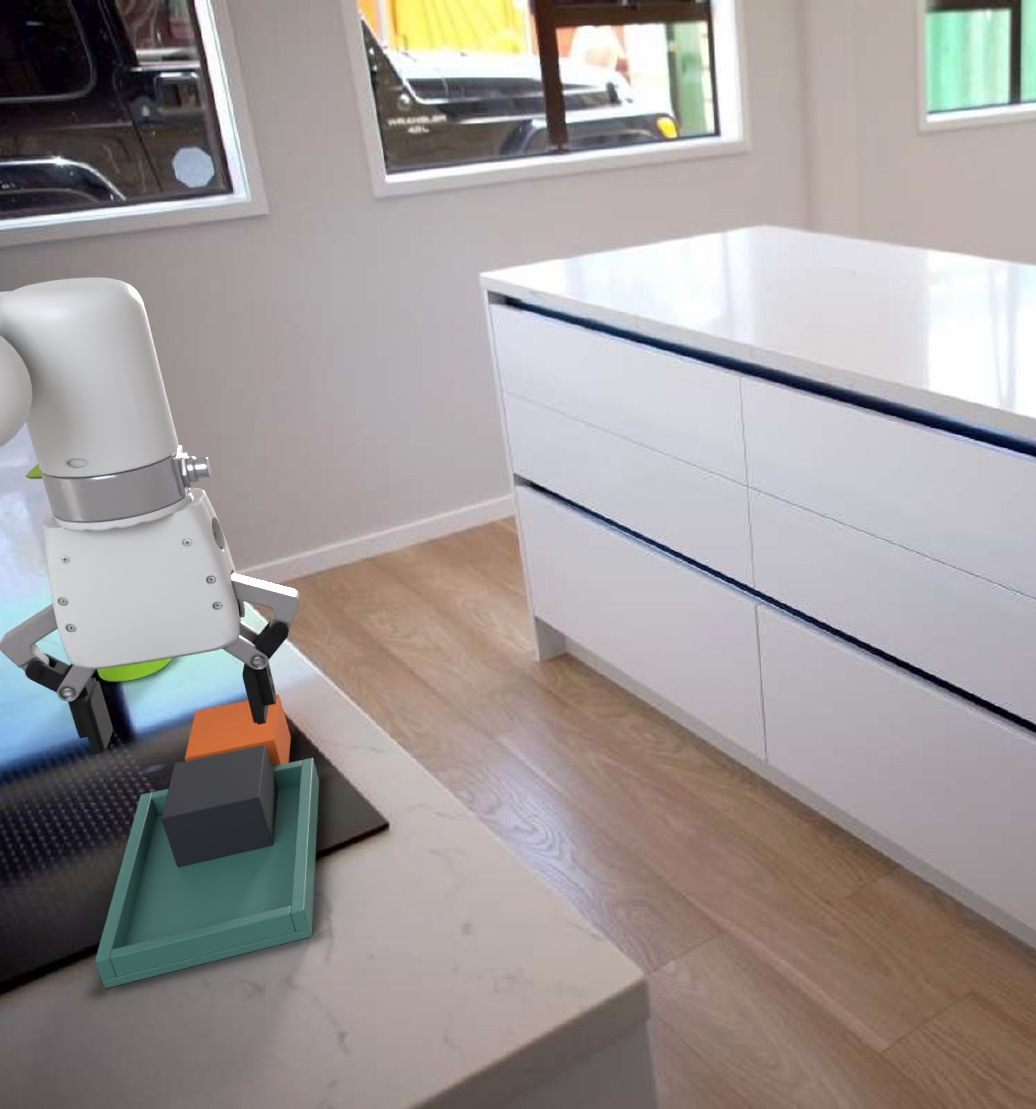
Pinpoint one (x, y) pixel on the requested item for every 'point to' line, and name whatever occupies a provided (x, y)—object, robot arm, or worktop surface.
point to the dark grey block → (221, 806)
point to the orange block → (239, 732)
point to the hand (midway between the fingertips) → (184, 728)
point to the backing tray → (211, 890)
